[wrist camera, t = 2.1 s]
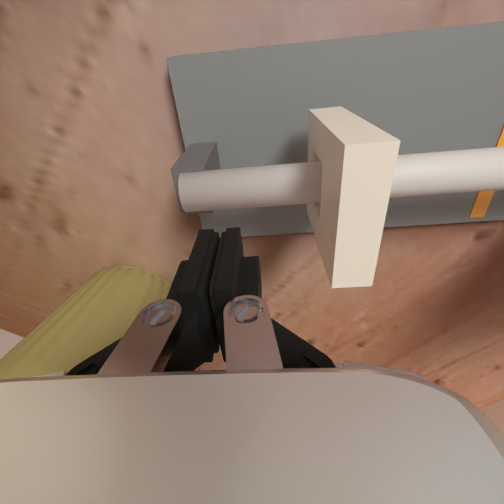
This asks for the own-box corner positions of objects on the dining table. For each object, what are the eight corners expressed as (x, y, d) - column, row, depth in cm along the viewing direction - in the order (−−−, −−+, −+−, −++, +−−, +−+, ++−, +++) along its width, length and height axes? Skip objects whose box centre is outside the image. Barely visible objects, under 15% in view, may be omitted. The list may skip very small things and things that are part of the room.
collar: (308, 109, 18) (345, 145, 11) (341, 106, 18) (400, 140, 10) (306, 210, 22) (331, 287, 14) (333, 208, 22) (372, 286, 14)
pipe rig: (171, 57, 20) (121, 56, 13) (635, 8, 18) (889, -26, 11) (206, 231, 28) (188, 292, 20) (532, 209, 26) (640, 268, 19)
